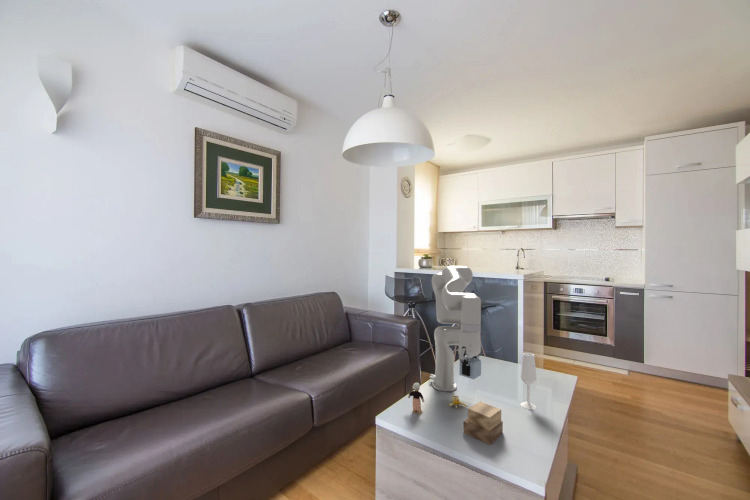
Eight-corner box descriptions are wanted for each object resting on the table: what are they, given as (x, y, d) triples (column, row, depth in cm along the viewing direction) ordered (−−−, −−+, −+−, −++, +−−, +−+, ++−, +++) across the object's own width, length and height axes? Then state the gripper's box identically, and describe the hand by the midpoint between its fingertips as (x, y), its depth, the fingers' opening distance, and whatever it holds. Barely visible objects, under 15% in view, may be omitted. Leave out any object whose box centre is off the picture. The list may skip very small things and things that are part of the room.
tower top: (468, 421, 125) (468, 408, 125) (480, 413, 131) (480, 401, 131) (489, 431, 119) (489, 417, 119) (501, 422, 125) (501, 409, 125)
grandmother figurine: (425, 411, 142) (425, 382, 142) (423, 415, 139) (424, 385, 139) (408, 408, 145) (408, 380, 145) (406, 412, 141) (406, 383, 141)
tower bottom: (463, 434, 125) (463, 421, 125) (476, 423, 133) (476, 411, 133) (490, 446, 118) (490, 432, 118) (502, 433, 126) (502, 421, 126)
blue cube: (459, 374, 126) (459, 359, 126) (467, 371, 130) (467, 356, 130) (473, 379, 122) (473, 363, 122) (480, 375, 126) (481, 359, 126)
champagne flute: (538, 410, 144) (538, 357, 144) (522, 408, 145) (522, 355, 146) (533, 403, 151) (534, 352, 151) (518, 401, 152) (519, 351, 152)
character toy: (449, 402, 144) (446, 394, 152) (449, 409, 144) (446, 401, 152) (467, 403, 143) (463, 395, 151) (467, 410, 143) (463, 402, 151)
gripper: (472, 322, 135) (472, 365, 135) (450, 329, 123) (450, 376, 123) (489, 325, 129) (489, 369, 129) (468, 332, 117) (467, 381, 117)
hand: (470, 372), depth 126 cm, fingers closed on blue cube, 6 cm apart
